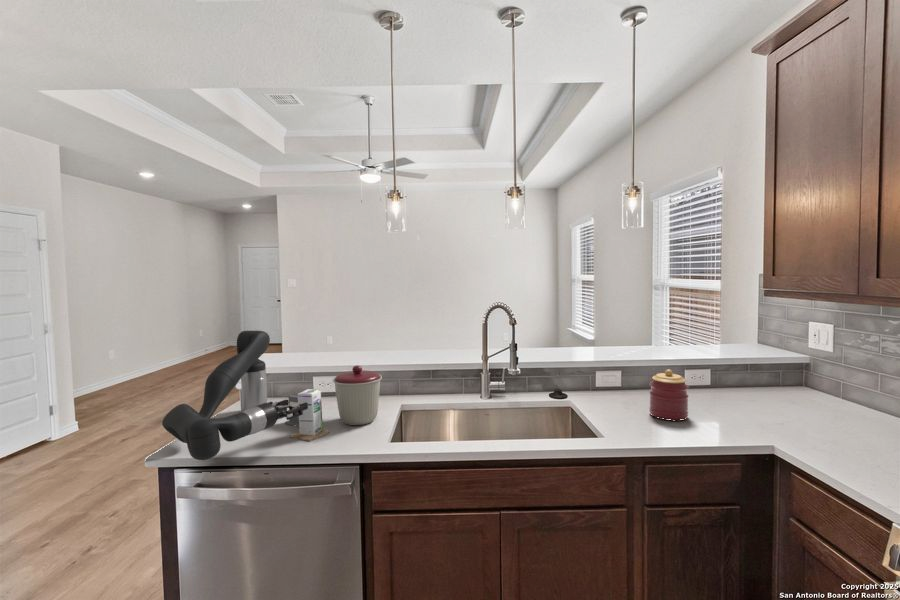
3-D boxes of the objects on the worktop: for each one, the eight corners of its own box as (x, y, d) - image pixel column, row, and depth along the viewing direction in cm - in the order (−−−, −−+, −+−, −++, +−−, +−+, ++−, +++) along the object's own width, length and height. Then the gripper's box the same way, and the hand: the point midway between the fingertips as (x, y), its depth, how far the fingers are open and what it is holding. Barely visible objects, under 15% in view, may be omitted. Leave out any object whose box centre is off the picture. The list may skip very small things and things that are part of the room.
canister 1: (327, 429, 154) (325, 371, 153) (341, 413, 172) (340, 361, 171) (378, 429, 153) (376, 370, 152) (387, 413, 171) (385, 360, 170)
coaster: (290, 437, 147) (290, 435, 147) (309, 428, 155) (309, 427, 155) (310, 441, 143) (310, 439, 143) (328, 432, 152) (328, 430, 152)
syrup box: (314, 436, 147) (312, 393, 146) (298, 434, 148) (297, 393, 147) (323, 430, 152) (321, 389, 151) (307, 429, 154) (306, 388, 153)
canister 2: (665, 408, 170) (665, 364, 169) (696, 418, 159) (696, 370, 158) (641, 413, 165) (641, 368, 164) (671, 424, 153) (672, 375, 152)
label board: (285, 424, 161) (284, 397, 160) (291, 421, 164) (290, 395, 163) (311, 428, 155) (310, 401, 155) (318, 425, 158) (317, 398, 158)
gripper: (240, 428, 133) (282, 412, 147) (274, 434, 127) (314, 417, 141) (239, 404, 132) (281, 390, 147) (273, 409, 126) (313, 395, 141)
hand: (297, 403), depth 144 cm, fingers open, 8 cm apart
